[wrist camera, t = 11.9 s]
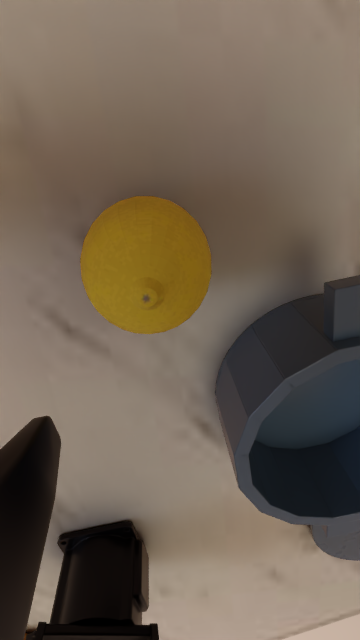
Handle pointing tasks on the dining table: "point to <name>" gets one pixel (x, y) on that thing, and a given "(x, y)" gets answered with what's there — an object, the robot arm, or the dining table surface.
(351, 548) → the pot lid
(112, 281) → the lemon
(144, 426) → the dining table surface
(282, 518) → the pot
